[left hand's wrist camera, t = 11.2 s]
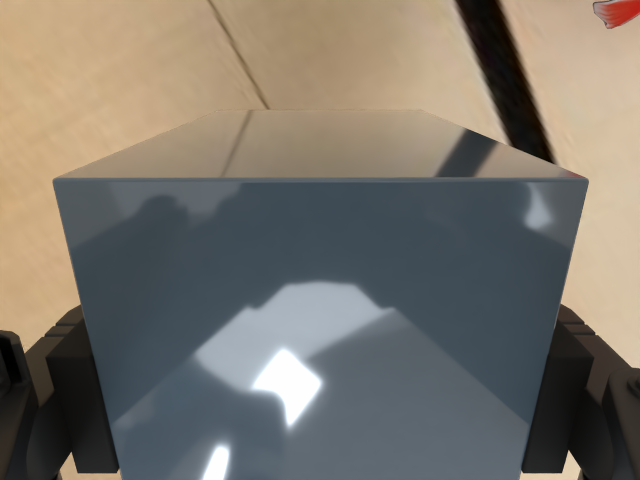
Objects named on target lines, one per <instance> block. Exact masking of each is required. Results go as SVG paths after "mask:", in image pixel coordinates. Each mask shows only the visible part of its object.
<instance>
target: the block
mask: <svg viewBox="0 0 640 480" xmlns="http://www.w3.org/2000/svg"><path fill="white" fill-rule="evenodd" d="M588 183H589V181H588V179H587V178H585V177H583V176H580V175H578V174H575V173H573V172H571V171H568V170H566V169H563V168H561V167H558V166H556V165H554V164H551V163H549V162H546V161H544V160H541V159H539V158H537V157H534V156H532V155H529V154H527V153H525V152H522V151H520V150H517V149H515V148H512V147H510V146H508V145H505V144H503V143H500V142H498V141H495V140H493V139H491V138H488V137H486V136H483V135H481V134H478V133H476V132H474V131H471V130H469V129H466V128H464V127H462V126H459V125H457V124H454V123H452V122H449V121H447V120H445V119H442V118H440V117H437V116H435V115H432V114H430V113H428V112H425V111H423V110H218V111H215V112H213V113H211V114H208V115H206V116H203V117H201V118H199V119H196V120H194V121H191V122H189V123H186V124H184V125H182V126H179V127H177V128H174V129H172V130H170V131H167V132H165V133H162V134H160V135H158V136H155V137H153V138H150V139H148V140H145V141H143V142H141V143H138V144H136V145H133V146H131V147H129V148H126V149H124V150H121V151H119V152H117V153H114V154H112V155H109V156H107V157H105V158H102V159H100V160H97V161H95V162H92V163H90V164H88V165H85V166H83V167H80V168H78V169H76V170H73V171H71V172H68V173H66V174H64V175H61V176H59V177H56V178H54V179H53V186H54V191H55V195H56V199H57V203H58V208H59V212H60V216H61V221H62V225H63V229H64V233H65V238H66V242H67V246H68V251H69V255H70V259H71V263H72V268H73V272H74V276H75V281H76V285H77V289H78V294H79V298H80V302H81V306H82V311H83V315H84V319H85V324H86V328H87V332H88V336H89V341H90V345H91V349H92V354H93V358H94V362H95V367H96V371H97V375H98V379H99V384H100V388H101V392H102V397H103V401H104V405H105V409H106V414H107V418H108V422H109V427H110V431H111V435H112V439H113V444H114V448H115V452H116V457H117V461H118V465H119V470H120V474H121V478H122V480H519V478H520V474H521V468H522V463H523V459H524V455H525V450H526V446H527V442H528V438H529V433H530V429H531V425H532V420H533V416H534V412H535V408H536V403H537V399H538V395H539V390H540V386H541V382H542V378H543V373H544V369H545V365H546V360H547V356H548V354H549V350H550V346H551V341H552V337H553V333H554V329H555V324H556V320H557V316H558V312H559V307H560V303H561V299H562V294H563V290H564V286H565V282H566V277H567V273H568V269H569V265H570V260H571V256H572V252H573V247H574V243H575V239H576V235H577V230H578V226H579V222H580V218H581V213H582V209H583V205H584V200H585V196H586V192H587V188H588Z"/></svg>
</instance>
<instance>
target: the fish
mask: <svg viewBox="0 0 640 480" xmlns="http://www.w3.org/2000/svg"><path fill="white" fill-rule="evenodd" d="M593 9H594V13H595V14H596V15H597V16H598V17H599V18H601V19H602V20H603V21H604V23H605V25H606V27H607V29H612V28H614V27H617V26H621V25H623V24H625V23H627V22H628V21H630V20H632V19H633V18H635V17H636V16H638V15H639V14H640V0H610V1H604V2H594V3H593Z"/></svg>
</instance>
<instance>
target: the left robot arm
mask: <svg viewBox="0 0 640 480" xmlns="http://www.w3.org/2000/svg"><path fill="white" fill-rule="evenodd" d="M568 450H569V451H570V452H571V454H572V456H573V457H574V459H575V460H576V462H577V463H578V465H579V466H580V468H581V470H580V473H579V476H578V480H640V369H639V368H632V367H631V366H630V365H628V364H627V363H626V362H625V361H624V360H623V359H622V358H621V357H620V356H619V355H618V354H617V353H616V352H615V351H614V350H613V349H612V348H611V347H610V346H609V345H608V344H607V343H606V342H605V341H604V340H602V339H601V338H600V337H599V336H598V335H595V332H594V331H593V330H592V329H591V328H590V327H589V326H588V325H585V324H584V321H583V320H582V319H581V318H580V317H579V316H578V315H576V314H575V313H574V312H573V311H572V310H571V309H569V308H568V307H566V306H564V305H562V304H560V307H559V312H558V316H557V320H556V324H555V329H554V333H553V337H552V341H551V346H550V350H549V354H548V356H547V360H546V365H545V369H544V373H543V378H542V382H541V386H540V390H539V395H538V399H537V403H536V408H535V412H534V416H533V420H532V425H531V429H530V433H529V438H528V442H527V446H526V450H525V455H524V459H523V463H522V468H521V470H522V472H523V473H562V471H563V468H564V464H565V461H566V457H567V454H568ZM71 451H72V455H73V458H74V462H75V465H76V469H77V472H78V473H117V471H118V469H119V465H118V461H117V457H116V452H115V448H114V444H113V439H112V435H111V431H110V427H109V422H108V418H107V414H106V409H105V405H104V401H103V397H102V392H101V388H100V384H99V379H98V375H97V371H96V367H95V362H94V358H93V354H92V349H91V345H90V341H89V336H88V332H87V328H86V324H85V319H84V315H83V311H82V306H81V305H79V306H77V307H75V308H73V309H72V310H70V311H68V312H67V313H66V314H65V315H64V316H63V317H62V318H61V319H60V320H59V321H58V322H57V323H56V326H53V327H52V328H51V329H50V330H49V331H48V332H47V333H46V334H45V337H41V338H40V339H39V340H38V341H37V342H36V343H35V344H34V345H33V346H32V347H31V348H30V349H29V350H28V351H27V352H26V353H25V354H24V351H23V348H22V344H21V341H20V338H19V336H18V335H17V334H15V333H13V332H11V331H3V330H0V480H62V476H61V473H60V468H61V467H62V465H63V464H64V462H65V461H66V459H67V457H68V456H69V454H70V453H71Z"/></svg>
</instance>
